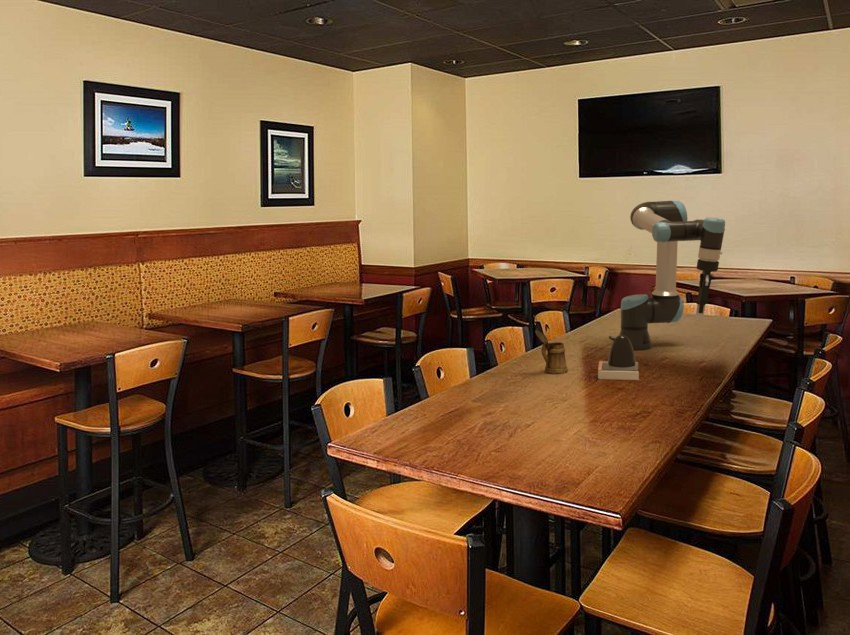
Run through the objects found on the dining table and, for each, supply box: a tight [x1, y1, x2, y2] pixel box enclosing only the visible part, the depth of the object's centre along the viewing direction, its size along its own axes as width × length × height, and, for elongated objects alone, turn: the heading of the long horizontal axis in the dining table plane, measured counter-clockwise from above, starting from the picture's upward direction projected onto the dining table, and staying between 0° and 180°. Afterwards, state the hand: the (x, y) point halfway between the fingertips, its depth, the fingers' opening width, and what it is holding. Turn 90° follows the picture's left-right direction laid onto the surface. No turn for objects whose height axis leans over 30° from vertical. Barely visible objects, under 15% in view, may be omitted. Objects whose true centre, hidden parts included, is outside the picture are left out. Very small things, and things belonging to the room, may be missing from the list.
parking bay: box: [597, 360, 640, 381], centre depth 276 cm, size 16×15×3 cm
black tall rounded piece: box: [607, 334, 636, 371], centre depth 276 cm, size 10×10×15 cm
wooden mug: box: [534, 328, 569, 374], centre depth 283 cm, size 9×14×18 cm, turn 112°
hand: (698, 320), depth 274 cm, fingers closed
